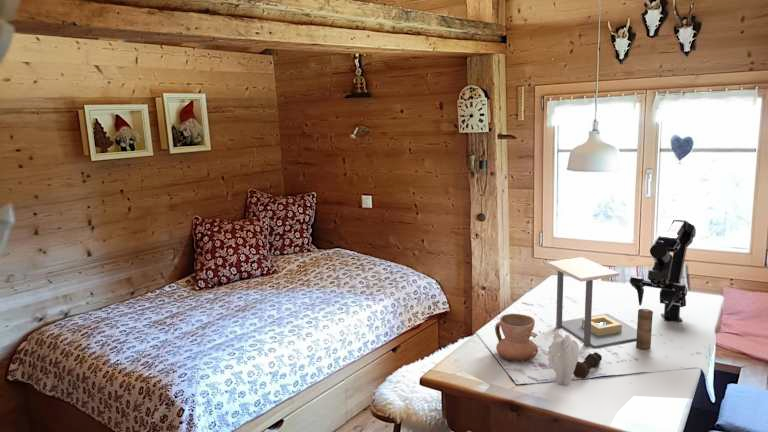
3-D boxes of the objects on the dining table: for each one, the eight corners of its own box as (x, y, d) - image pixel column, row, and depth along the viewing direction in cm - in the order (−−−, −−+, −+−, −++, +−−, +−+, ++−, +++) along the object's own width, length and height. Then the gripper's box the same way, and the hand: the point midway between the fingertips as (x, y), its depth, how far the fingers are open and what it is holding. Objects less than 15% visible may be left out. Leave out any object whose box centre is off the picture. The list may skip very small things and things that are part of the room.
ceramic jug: (549, 358, 205) (549, 320, 202) (522, 370, 196) (522, 331, 194) (509, 343, 219) (509, 307, 216) (483, 354, 210) (482, 317, 208)
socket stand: (607, 315, 240) (610, 252, 235) (648, 337, 218) (653, 268, 212) (543, 326, 232) (545, 261, 226) (580, 350, 210) (582, 279, 204)
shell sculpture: (553, 373, 194) (555, 323, 190) (578, 380, 189) (580, 328, 185) (545, 384, 187) (546, 332, 183) (571, 391, 182) (572, 338, 179)
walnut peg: (634, 344, 213) (636, 308, 210) (648, 344, 212) (650, 308, 209) (637, 350, 208) (640, 313, 206) (652, 350, 208) (654, 313, 205)
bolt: (599, 367, 201) (580, 382, 190) (587, 356, 204) (568, 371, 193) (608, 355, 198) (590, 370, 187) (596, 345, 201) (577, 359, 190)
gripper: (630, 256, 214) (621, 296, 210) (686, 264, 202) (677, 306, 198) (637, 266, 222) (628, 305, 218) (691, 274, 210) (682, 315, 206)
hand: (653, 307), depth 210 cm, fingers open, 9 cm apart
